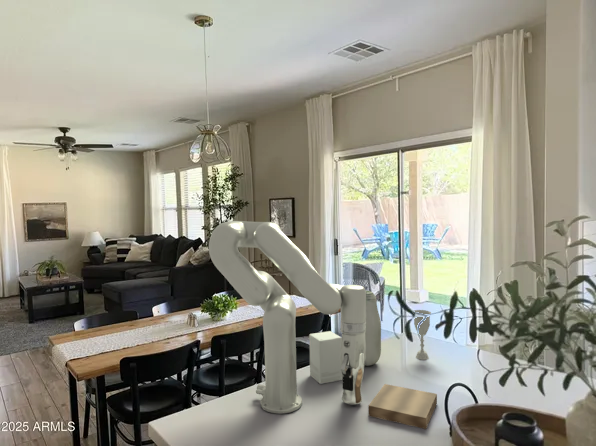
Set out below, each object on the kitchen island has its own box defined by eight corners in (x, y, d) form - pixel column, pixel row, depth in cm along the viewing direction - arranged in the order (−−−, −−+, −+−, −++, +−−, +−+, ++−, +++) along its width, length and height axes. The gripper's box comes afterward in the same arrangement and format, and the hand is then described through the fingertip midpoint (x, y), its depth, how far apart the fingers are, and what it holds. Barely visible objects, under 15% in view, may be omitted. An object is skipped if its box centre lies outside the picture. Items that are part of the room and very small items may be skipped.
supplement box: (343, 380, 142) (342, 337, 141) (320, 384, 138) (319, 341, 138) (331, 370, 150) (331, 330, 150) (309, 375, 147) (308, 333, 146)
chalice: (410, 354, 164) (409, 310, 164) (425, 353, 166) (425, 309, 165) (418, 361, 157) (418, 315, 157) (434, 360, 158) (434, 313, 158)
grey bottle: (358, 357, 162) (357, 287, 161) (384, 361, 158) (383, 289, 157) (350, 366, 153) (349, 292, 152) (377, 371, 149) (376, 294, 148)
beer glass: (363, 406, 120) (363, 356, 120) (339, 404, 121) (340, 354, 121) (364, 396, 127) (364, 348, 126) (341, 393, 128) (342, 346, 128)
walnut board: (368, 415, 117) (368, 405, 117) (384, 393, 131) (384, 383, 131) (426, 429, 109) (426, 418, 109) (436, 403, 123) (436, 393, 123)
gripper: (354, 336, 114) (353, 399, 115) (374, 321, 129) (373, 377, 130) (329, 332, 118) (329, 393, 118) (351, 318, 133) (351, 372, 133)
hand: (352, 384), depth 124 cm, fingers closed on beer glass, 6 cm apart
